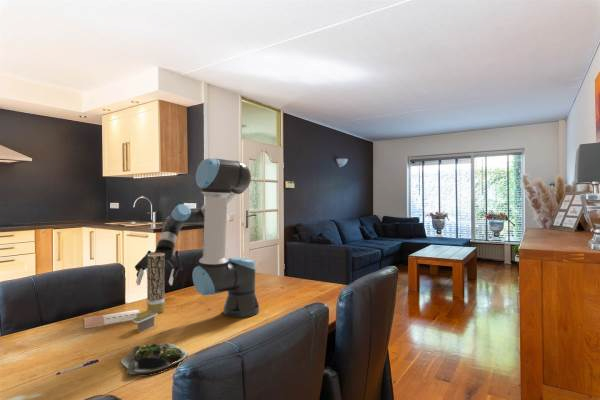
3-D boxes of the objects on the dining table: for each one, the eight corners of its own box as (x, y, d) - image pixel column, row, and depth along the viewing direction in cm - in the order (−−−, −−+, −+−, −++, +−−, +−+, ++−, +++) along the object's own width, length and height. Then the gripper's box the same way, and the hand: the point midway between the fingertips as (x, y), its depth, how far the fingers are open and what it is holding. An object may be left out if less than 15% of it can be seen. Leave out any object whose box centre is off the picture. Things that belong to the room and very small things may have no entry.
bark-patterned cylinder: (158, 315, 142) (158, 255, 142) (143, 313, 143) (144, 254, 143) (167, 309, 149) (167, 252, 149) (153, 308, 150) (154, 252, 150)
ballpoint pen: (97, 361, 101) (97, 358, 101) (99, 362, 101) (99, 358, 101) (56, 375, 93) (56, 371, 93) (57, 376, 93) (57, 372, 93)
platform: (111, 337, 120) (112, 318, 120) (149, 320, 137) (149, 303, 137) (138, 341, 116) (139, 322, 116) (173, 323, 133) (174, 307, 133)
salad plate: (107, 360, 102) (107, 345, 102) (165, 342, 115) (165, 329, 115) (132, 384, 89) (132, 367, 89) (194, 361, 102) (194, 346, 102)
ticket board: (142, 318, 138) (142, 317, 138) (84, 328, 127) (84, 327, 127) (138, 310, 148) (138, 309, 148) (84, 319, 137) (84, 317, 137)
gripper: (195, 248, 162) (185, 288, 147) (141, 248, 161) (126, 288, 146) (192, 238, 157) (181, 278, 141) (137, 238, 156) (120, 278, 140)
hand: (153, 283), depth 144 cm, fingers open, 13 cm apart
